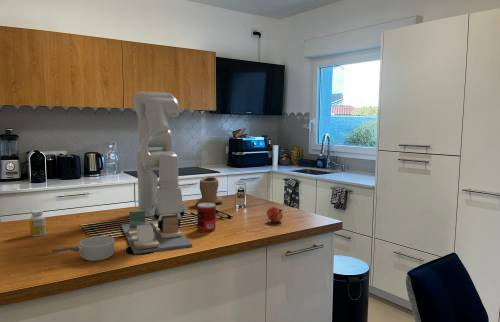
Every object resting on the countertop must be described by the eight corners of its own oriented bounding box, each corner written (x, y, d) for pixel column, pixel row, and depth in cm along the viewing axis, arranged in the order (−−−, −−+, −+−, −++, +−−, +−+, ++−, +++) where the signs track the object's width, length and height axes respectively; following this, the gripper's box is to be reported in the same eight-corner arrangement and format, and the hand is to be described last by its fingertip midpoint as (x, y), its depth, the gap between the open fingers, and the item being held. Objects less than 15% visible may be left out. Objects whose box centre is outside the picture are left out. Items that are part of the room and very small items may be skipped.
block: (137, 238, 146) (136, 225, 146) (150, 237, 148) (150, 224, 148) (139, 242, 142) (139, 229, 141) (153, 241, 144) (153, 227, 143)
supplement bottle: (31, 233, 159) (30, 209, 158) (46, 232, 161) (45, 209, 160) (29, 237, 154) (28, 213, 153) (44, 235, 156) (43, 212, 155)
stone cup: (202, 207, 208) (202, 179, 206) (194, 202, 219) (194, 176, 217) (227, 204, 215) (228, 177, 214) (219, 200, 226) (219, 174, 224)
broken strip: (127, 230, 160) (126, 211, 159) (146, 228, 164) (146, 209, 163) (136, 249, 138) (136, 227, 137) (159, 246, 142) (159, 225, 141)
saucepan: (48, 261, 130) (47, 245, 129) (107, 248, 143) (107, 233, 142) (58, 272, 121) (57, 254, 120) (120, 257, 134) (120, 241, 133)
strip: (150, 222, 173) (149, 204, 172) (167, 220, 177) (167, 203, 176) (162, 238, 151) (161, 218, 150) (182, 235, 154) (182, 216, 153)
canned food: (218, 227, 171) (218, 203, 169) (211, 233, 163) (211, 207, 162) (201, 226, 173) (201, 201, 172) (194, 231, 165) (194, 205, 164)
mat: (121, 226, 170) (121, 224, 170) (169, 221, 179) (169, 219, 179) (134, 254, 137) (134, 251, 137) (192, 246, 146) (192, 244, 146)
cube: (160, 229, 159) (160, 215, 158) (174, 227, 161) (174, 213, 160) (163, 233, 153) (163, 218, 152) (178, 231, 156) (178, 217, 155)
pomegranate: (265, 227, 180) (279, 217, 174) (258, 213, 183) (273, 203, 177) (275, 226, 186) (289, 216, 180) (268, 212, 188) (283, 202, 183)
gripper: (148, 187, 148) (149, 233, 150) (192, 185, 155) (192, 229, 157) (145, 184, 155) (145, 228, 157) (187, 182, 162) (187, 224, 164)
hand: (169, 228), depth 157 cm, fingers closed on cube, 6 cm apart
